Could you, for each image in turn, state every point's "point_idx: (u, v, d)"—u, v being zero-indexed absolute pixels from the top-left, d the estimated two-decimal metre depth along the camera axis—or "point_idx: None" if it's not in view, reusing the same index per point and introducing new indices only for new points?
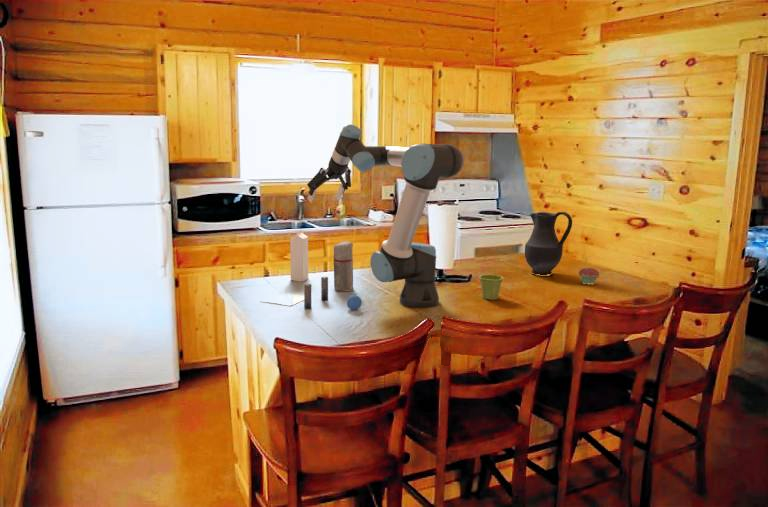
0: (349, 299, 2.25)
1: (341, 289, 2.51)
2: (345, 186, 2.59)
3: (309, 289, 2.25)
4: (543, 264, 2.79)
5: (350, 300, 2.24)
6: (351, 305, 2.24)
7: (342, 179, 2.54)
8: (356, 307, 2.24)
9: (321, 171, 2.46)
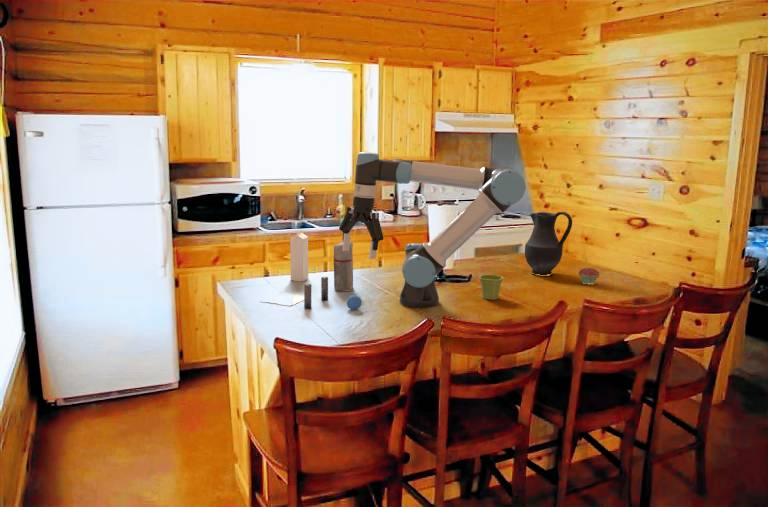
0: (349, 299, 2.25)
1: (341, 289, 2.51)
2: None
3: (309, 289, 2.25)
4: (543, 264, 2.79)
5: (350, 300, 2.24)
6: (351, 305, 2.24)
7: None
8: (356, 307, 2.24)
9: (376, 215, 2.15)
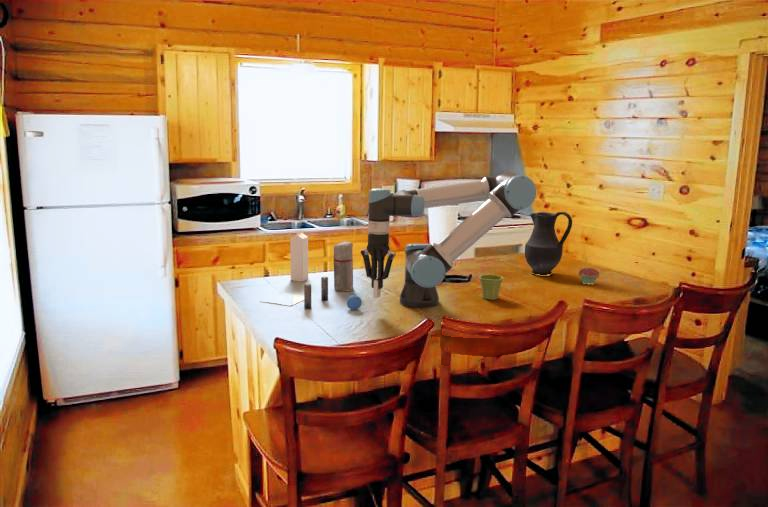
0: (349, 299, 2.25)
1: (341, 289, 2.51)
2: None
3: (309, 289, 2.25)
4: (543, 264, 2.79)
5: (350, 300, 2.24)
6: (351, 305, 2.24)
7: None
8: (356, 307, 2.24)
9: (393, 256, 2.17)
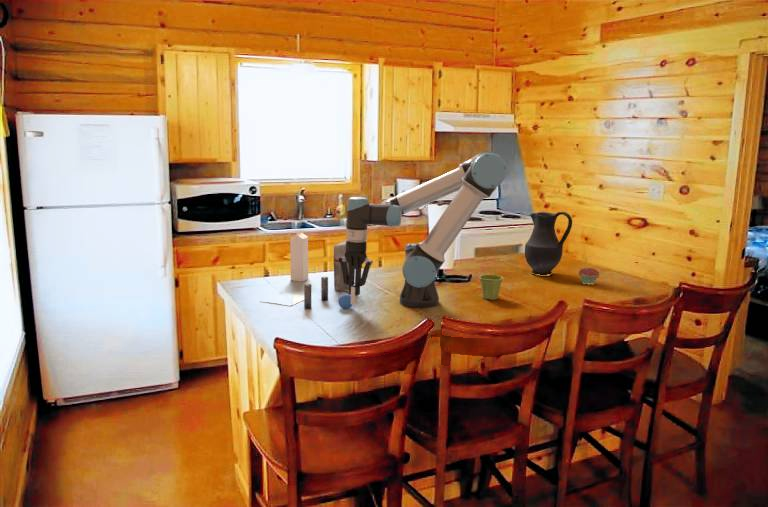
0: (338, 302, 2.27)
1: (341, 289, 2.51)
2: None
3: (309, 289, 2.25)
4: (543, 264, 2.79)
5: (339, 301, 2.26)
6: (343, 303, 2.25)
7: None
8: (348, 300, 2.25)
9: (370, 264, 2.21)
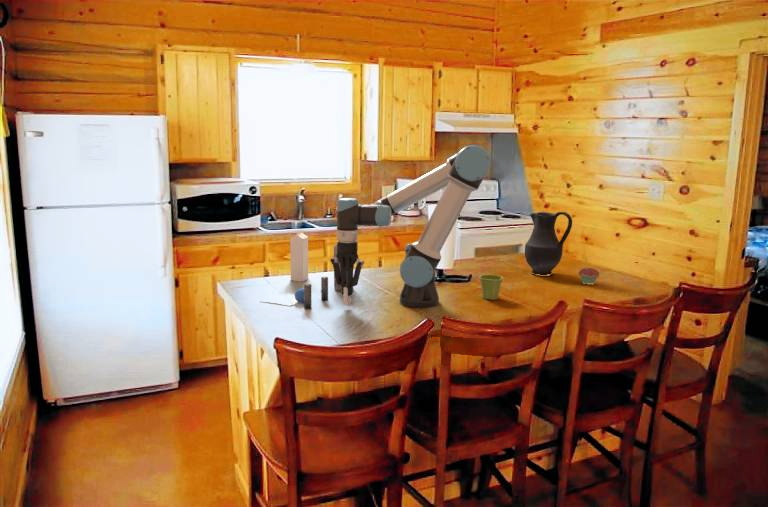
0: (295, 298, 2.33)
1: (341, 289, 2.51)
2: None
3: (309, 289, 2.25)
4: (543, 264, 2.79)
5: (295, 297, 2.33)
6: (299, 296, 2.32)
7: None
8: (302, 292, 2.32)
9: (362, 264, 2.22)
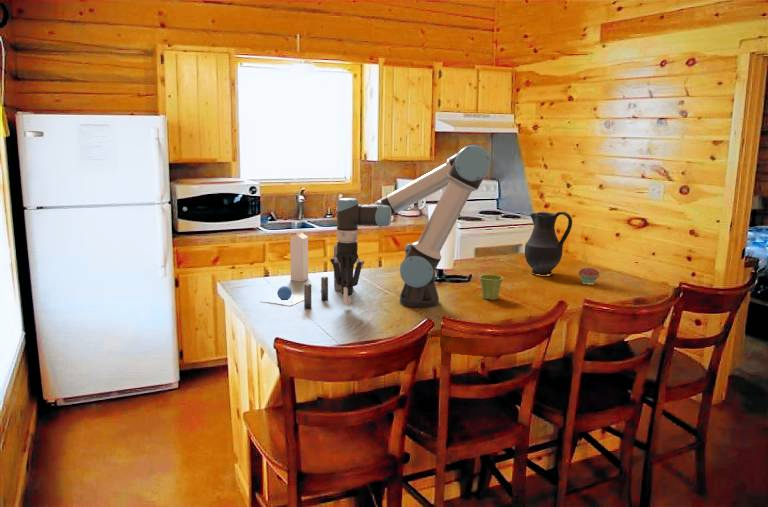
0: (285, 294, 2.35)
1: (341, 289, 2.51)
2: None
3: (309, 289, 2.25)
4: (543, 264, 2.79)
5: (284, 295, 2.35)
6: (279, 295, 2.35)
7: None
8: (278, 296, 2.37)
9: (362, 264, 2.22)
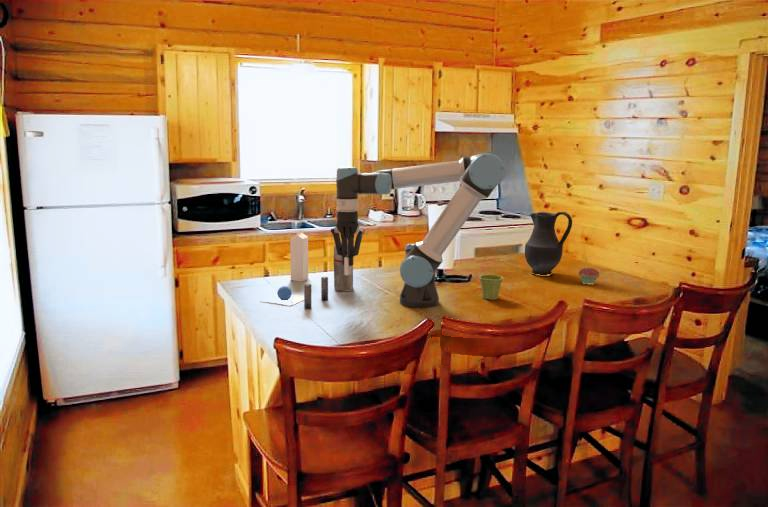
0: (285, 294, 2.35)
1: (341, 289, 2.51)
2: None
3: (309, 289, 2.25)
4: (543, 264, 2.79)
5: (284, 295, 2.35)
6: (279, 295, 2.35)
7: None
8: (278, 296, 2.37)
9: (362, 233, 2.20)
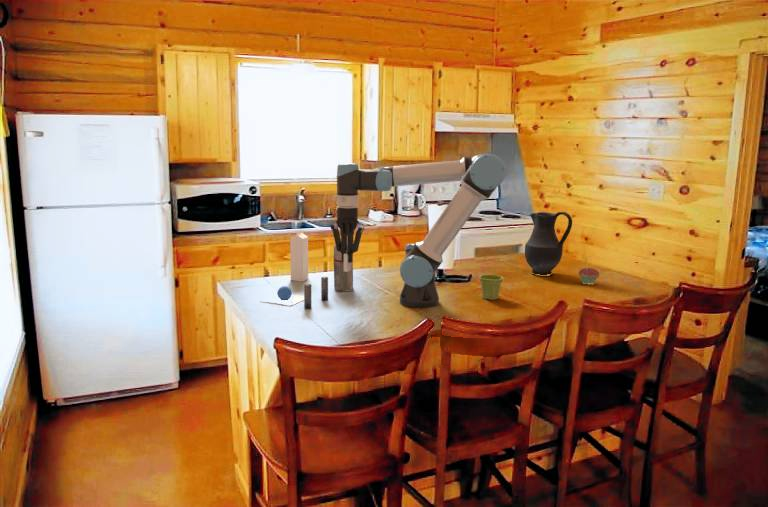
0: (285, 294, 2.35)
1: (341, 289, 2.51)
2: None
3: (309, 289, 2.25)
4: (543, 264, 2.79)
5: (284, 295, 2.35)
6: (279, 295, 2.35)
7: None
8: (278, 296, 2.37)
9: (362, 230, 2.20)
